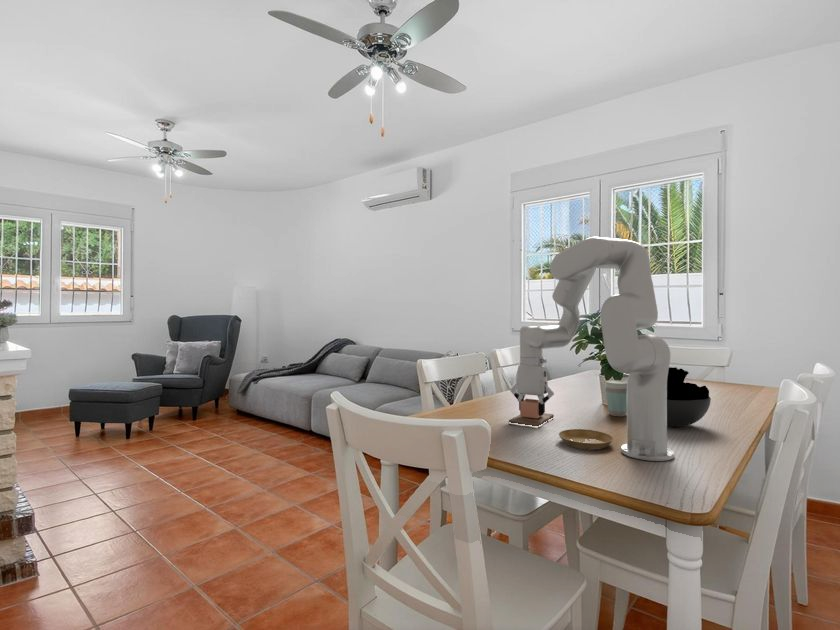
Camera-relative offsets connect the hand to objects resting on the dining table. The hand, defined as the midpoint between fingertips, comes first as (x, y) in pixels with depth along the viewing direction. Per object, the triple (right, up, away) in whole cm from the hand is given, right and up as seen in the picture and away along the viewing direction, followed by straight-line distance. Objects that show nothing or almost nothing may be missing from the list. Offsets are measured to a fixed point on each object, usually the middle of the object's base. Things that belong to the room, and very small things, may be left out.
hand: (531, 413), depth 157 cm
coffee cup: (+33, -3, +9) cm, 35 cm away
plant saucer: (+9, -3, -27) cm, 28 cm away
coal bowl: (+45, -3, -8) cm, 46 cm away
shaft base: (0, -3, 0) cm, 3 cm away
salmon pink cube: (0, -1, 0) cm, 1 cm away
